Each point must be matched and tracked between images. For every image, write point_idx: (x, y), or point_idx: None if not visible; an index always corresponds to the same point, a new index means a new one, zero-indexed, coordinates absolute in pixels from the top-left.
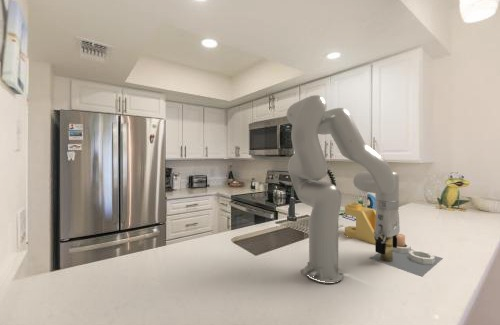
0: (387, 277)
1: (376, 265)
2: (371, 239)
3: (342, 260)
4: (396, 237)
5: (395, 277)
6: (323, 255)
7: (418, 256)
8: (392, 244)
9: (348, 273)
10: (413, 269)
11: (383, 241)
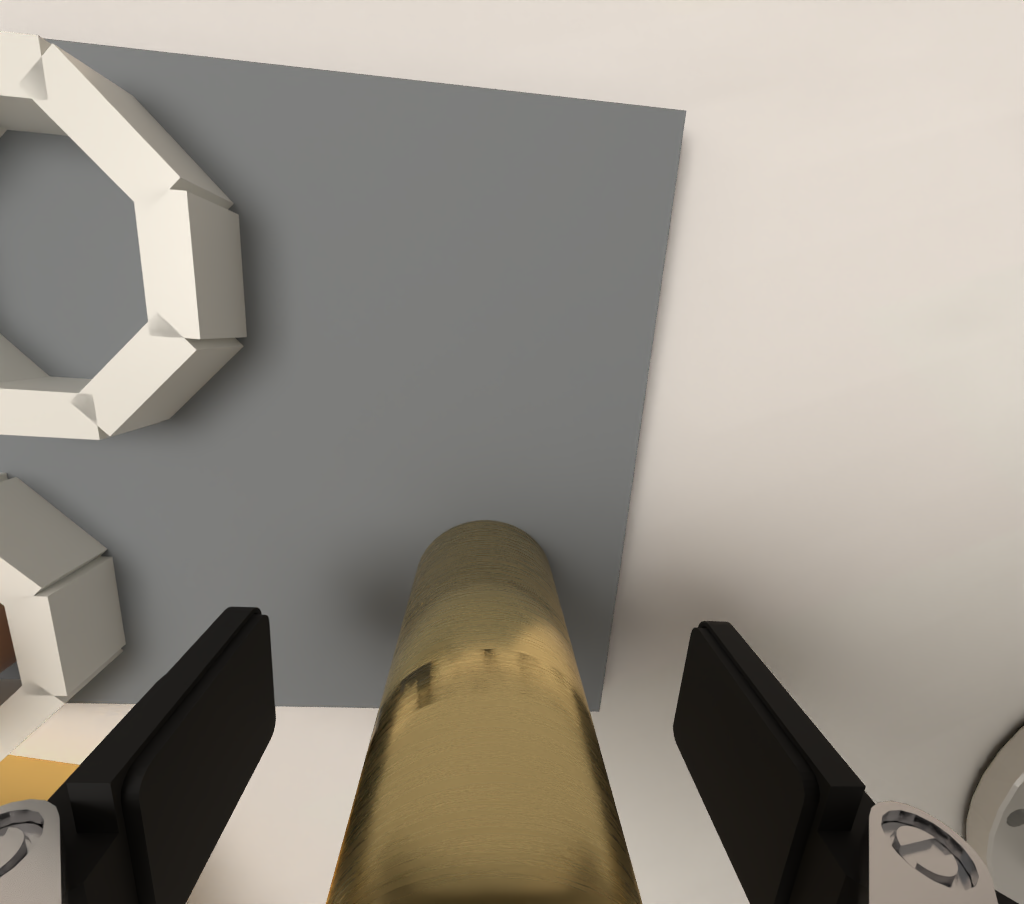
0: (843, 430)
1: (636, 600)
2: None
3: None
4: (81, 792)
5: (790, 373)
6: None
7: (149, 265)
8: (470, 679)
9: (979, 685)
10: (537, 256)
11: (928, 867)
